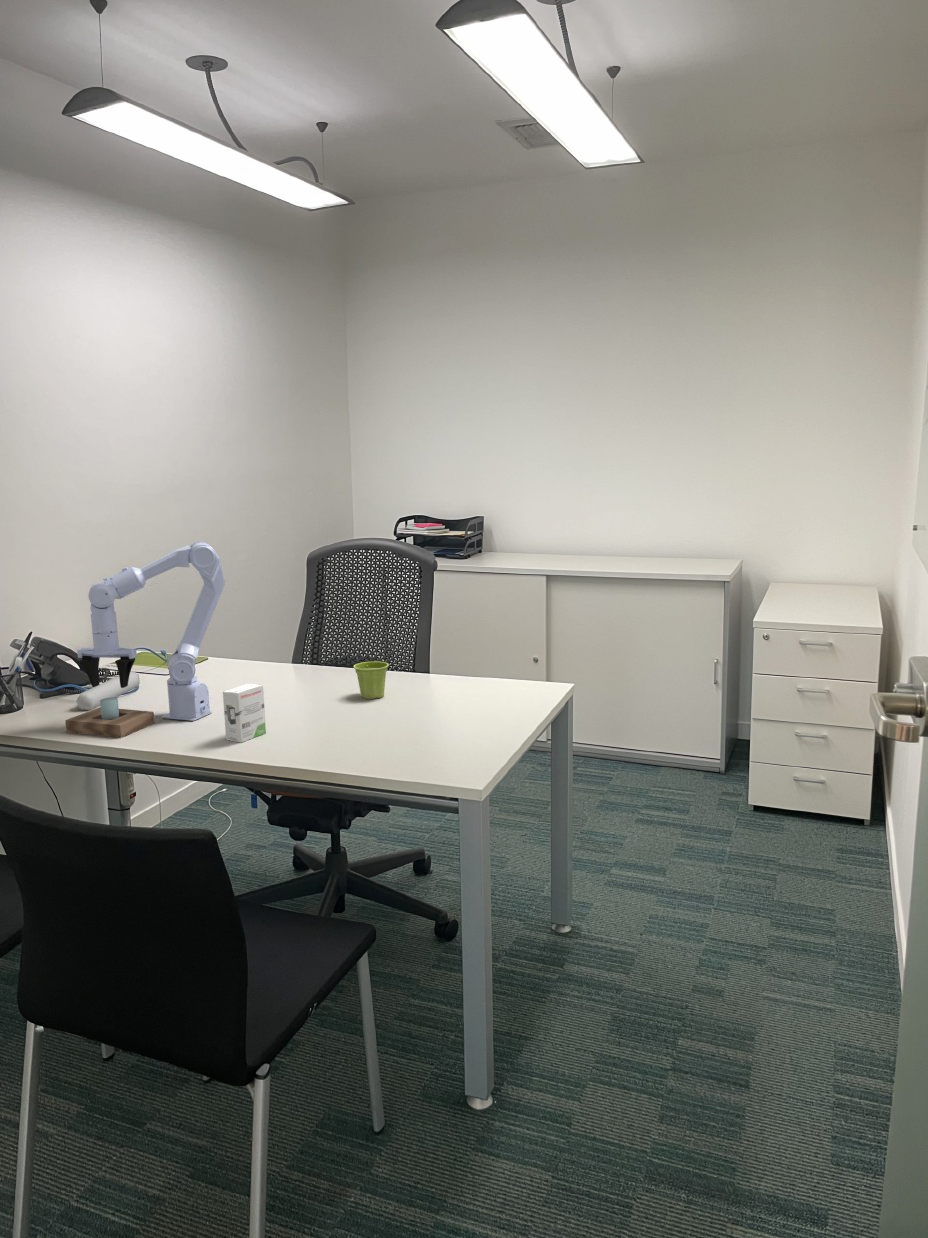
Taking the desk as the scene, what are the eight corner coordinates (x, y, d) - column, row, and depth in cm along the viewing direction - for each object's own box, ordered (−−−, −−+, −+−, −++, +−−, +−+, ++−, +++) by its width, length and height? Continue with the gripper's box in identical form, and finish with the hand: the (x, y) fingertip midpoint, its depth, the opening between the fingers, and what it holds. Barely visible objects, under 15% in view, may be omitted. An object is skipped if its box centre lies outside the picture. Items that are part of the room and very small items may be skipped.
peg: (122, 725, 226) (119, 697, 224) (117, 729, 222) (114, 701, 220) (105, 725, 225) (102, 698, 224) (100, 730, 221) (97, 702, 220)
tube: (93, 698, 237) (142, 674, 261) (74, 691, 238) (125, 668, 262) (88, 716, 238) (138, 691, 263) (70, 709, 239) (121, 685, 263)
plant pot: (349, 700, 244) (348, 668, 243) (361, 691, 253) (360, 660, 252) (383, 702, 242) (382, 669, 241) (394, 692, 251) (393, 661, 250)
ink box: (251, 730, 219) (248, 682, 217) (267, 733, 217) (264, 684, 214) (225, 740, 212) (221, 690, 210) (240, 743, 209) (237, 693, 207)
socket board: (154, 723, 226) (153, 711, 226) (121, 737, 215) (120, 725, 215) (101, 718, 232) (100, 707, 231) (66, 732, 220) (65, 720, 220)
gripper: (141, 629, 226) (145, 683, 228) (87, 628, 228) (92, 681, 230) (126, 634, 219) (130, 690, 221) (70, 633, 221) (75, 688, 224)
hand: (110, 686), depth 225 cm, fingers open, 7 cm apart
